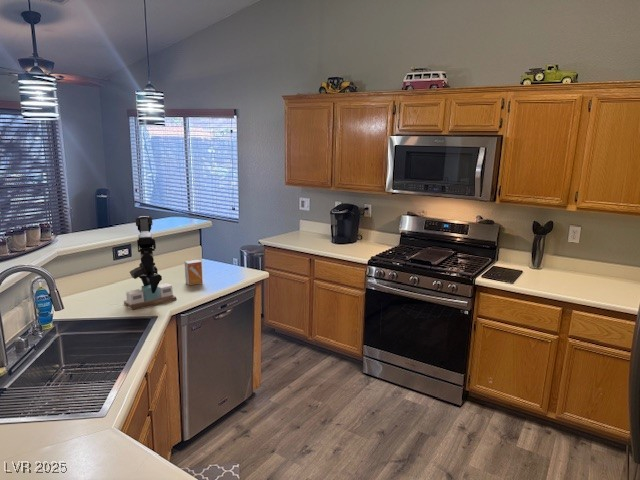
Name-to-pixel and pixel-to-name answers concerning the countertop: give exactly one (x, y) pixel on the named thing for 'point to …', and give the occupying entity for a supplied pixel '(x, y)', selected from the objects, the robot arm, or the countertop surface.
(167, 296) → the metal rail
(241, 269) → the countertop surface
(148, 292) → the block
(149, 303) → the rail board
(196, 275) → the small box
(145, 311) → the countertop surface
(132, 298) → the mounted modules
